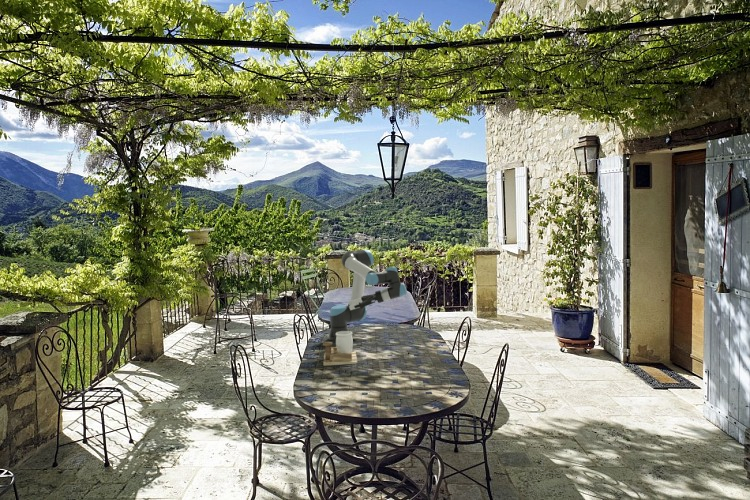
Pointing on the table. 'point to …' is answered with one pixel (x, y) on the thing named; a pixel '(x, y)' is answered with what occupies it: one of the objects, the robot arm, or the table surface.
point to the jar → (344, 342)
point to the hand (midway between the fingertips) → (350, 305)
